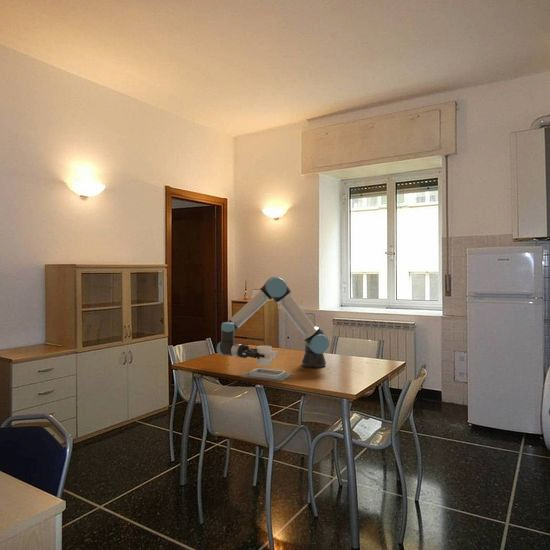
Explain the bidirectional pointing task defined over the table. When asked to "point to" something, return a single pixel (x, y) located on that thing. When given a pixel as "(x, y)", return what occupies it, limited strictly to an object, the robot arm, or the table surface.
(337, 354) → the table surface
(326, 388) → the table surface
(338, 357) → the table surface
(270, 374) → the rail plate
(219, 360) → the table surface
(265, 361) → the cup
